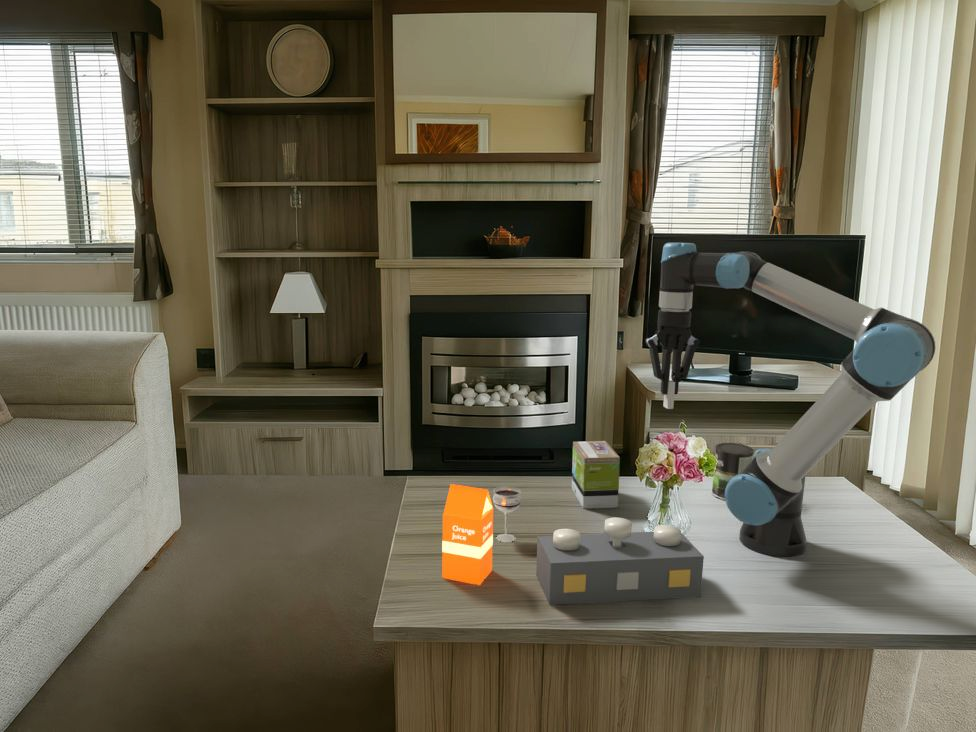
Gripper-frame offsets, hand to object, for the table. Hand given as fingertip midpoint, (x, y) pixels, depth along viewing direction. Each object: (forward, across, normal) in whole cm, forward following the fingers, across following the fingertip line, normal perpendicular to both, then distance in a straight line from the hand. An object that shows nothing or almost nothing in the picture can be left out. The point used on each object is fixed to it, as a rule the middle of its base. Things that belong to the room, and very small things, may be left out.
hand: (668, 407), depth 181 cm
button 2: (+28, +8, +24) cm, 38 cm away
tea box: (+33, +10, -25) cm, 42 cm away
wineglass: (+33, +38, -1) cm, 50 cm away
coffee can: (+33, -30, -24) cm, 51 cm away
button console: (+32, +19, +25) cm, 45 cm away
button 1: (+28, +30, +24) cm, 48 cm away
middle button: (+26, +19, +24) cm, 40 cm away
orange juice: (+33, +50, +16) cm, 62 cm away
